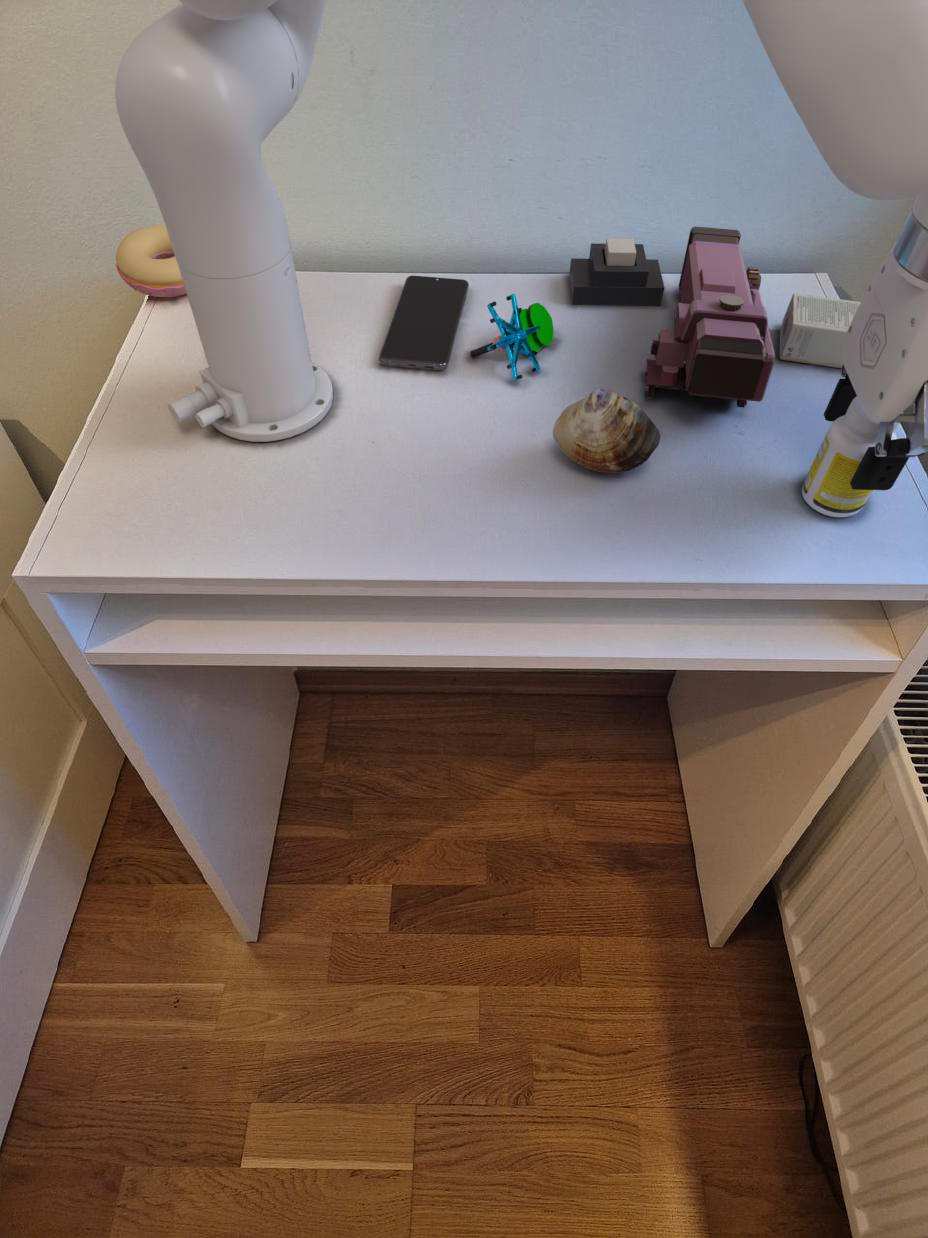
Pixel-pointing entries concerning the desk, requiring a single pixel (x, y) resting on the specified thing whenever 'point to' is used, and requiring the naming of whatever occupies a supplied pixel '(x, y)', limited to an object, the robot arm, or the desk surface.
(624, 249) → the key back
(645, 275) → the dark gray block frame
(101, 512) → the desk surface
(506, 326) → the stick construction toy
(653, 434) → the seashell
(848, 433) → the supplement bottle
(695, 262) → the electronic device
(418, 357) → the smartphone
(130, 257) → the doughnut
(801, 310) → the cosmetic box
